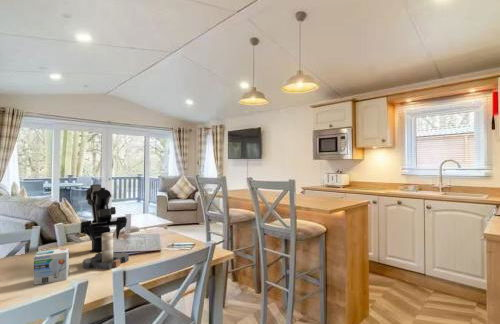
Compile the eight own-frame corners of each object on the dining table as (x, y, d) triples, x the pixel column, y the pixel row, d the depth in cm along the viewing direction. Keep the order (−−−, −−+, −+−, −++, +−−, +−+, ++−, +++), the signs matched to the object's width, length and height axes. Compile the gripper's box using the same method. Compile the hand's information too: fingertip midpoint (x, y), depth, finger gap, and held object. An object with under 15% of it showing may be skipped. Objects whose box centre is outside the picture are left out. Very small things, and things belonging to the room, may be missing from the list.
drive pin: (99, 267, 122) (99, 234, 122) (105, 263, 126) (105, 232, 126) (109, 267, 121) (109, 234, 121) (115, 263, 126) (115, 232, 126)
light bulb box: (33, 285, 104) (32, 256, 104) (36, 278, 110) (36, 251, 110) (67, 279, 109) (67, 252, 109) (69, 273, 115) (69, 247, 115)
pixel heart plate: (78, 268, 121) (78, 262, 121) (103, 256, 136) (103, 250, 136) (110, 271, 118) (110, 265, 118) (132, 258, 133) (132, 252, 133)
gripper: (80, 203, 124) (83, 234, 115) (125, 199, 135) (131, 227, 126) (79, 218, 131) (81, 248, 122) (122, 213, 142) (127, 240, 133)
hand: (106, 240), depth 126 cm, fingers open, 9 cm apart
